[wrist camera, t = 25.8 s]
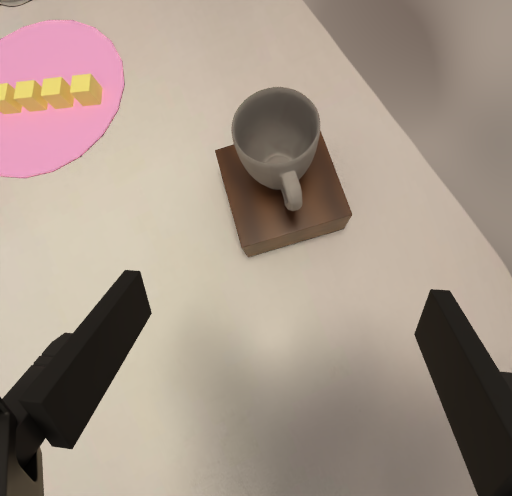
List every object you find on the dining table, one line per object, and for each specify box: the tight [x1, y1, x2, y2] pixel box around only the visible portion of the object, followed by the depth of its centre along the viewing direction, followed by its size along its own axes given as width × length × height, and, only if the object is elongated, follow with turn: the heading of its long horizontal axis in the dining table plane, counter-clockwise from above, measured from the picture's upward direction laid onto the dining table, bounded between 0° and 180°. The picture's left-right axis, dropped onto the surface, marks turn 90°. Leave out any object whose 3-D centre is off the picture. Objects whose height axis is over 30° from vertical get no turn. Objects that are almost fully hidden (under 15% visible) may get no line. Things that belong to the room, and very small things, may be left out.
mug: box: [232, 87, 320, 211], centre depth 34 cm, size 12×9×10 cm
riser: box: [215, 131, 352, 257], centre depth 42 cm, size 14×14×6 cm
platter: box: [0, 20, 124, 178], centre depth 52 cm, size 32×32×3 cm
